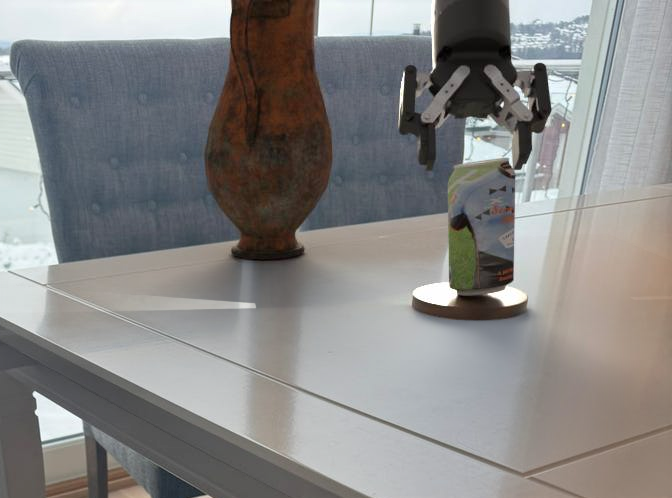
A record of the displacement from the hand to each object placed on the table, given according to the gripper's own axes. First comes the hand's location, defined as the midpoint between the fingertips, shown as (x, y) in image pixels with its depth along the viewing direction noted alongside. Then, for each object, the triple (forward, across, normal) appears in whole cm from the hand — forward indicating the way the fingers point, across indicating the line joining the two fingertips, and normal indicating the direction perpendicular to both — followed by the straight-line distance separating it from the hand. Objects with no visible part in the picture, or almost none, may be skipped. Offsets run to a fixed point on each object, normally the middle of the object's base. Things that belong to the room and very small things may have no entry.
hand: (475, 164), depth 90 cm
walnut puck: (+14, 0, +6) cm, 15 cm away
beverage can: (+12, 0, +4) cm, 12 cm away
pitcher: (-12, -20, +32) cm, 40 cm away
